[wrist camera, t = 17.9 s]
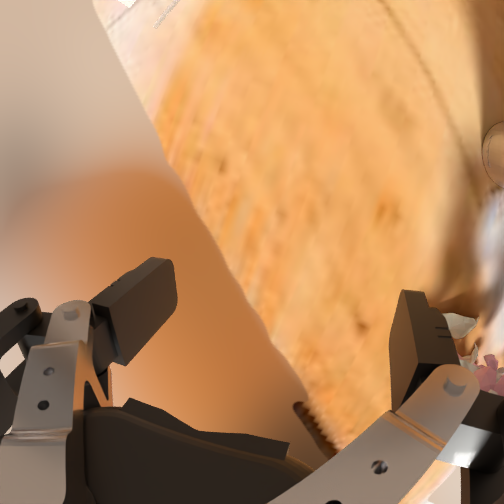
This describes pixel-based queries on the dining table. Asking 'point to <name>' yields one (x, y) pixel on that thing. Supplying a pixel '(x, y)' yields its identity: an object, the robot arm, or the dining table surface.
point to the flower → (488, 377)
